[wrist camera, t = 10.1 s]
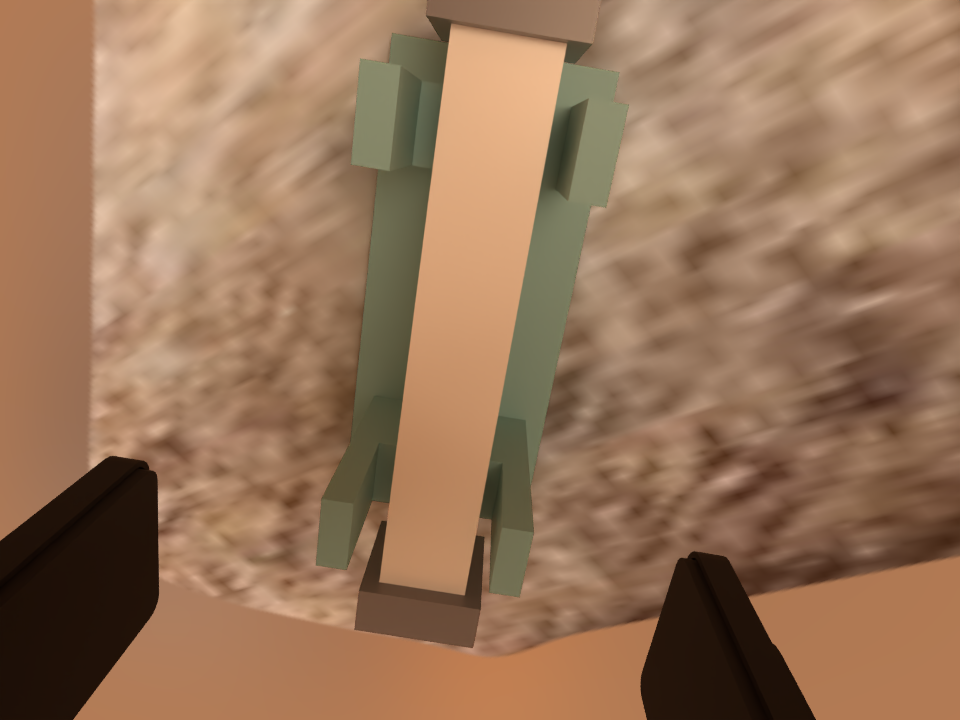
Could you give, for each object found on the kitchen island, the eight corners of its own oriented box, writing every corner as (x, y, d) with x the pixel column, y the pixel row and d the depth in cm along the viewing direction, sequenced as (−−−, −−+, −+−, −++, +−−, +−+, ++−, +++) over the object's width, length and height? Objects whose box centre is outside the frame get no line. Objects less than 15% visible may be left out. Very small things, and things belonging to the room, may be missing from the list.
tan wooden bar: (586, 3, 23) (607, -33, 18) (477, 570, 31) (473, 648, 26) (449, -21, 23) (435, -63, 18) (377, 555, 31) (354, 629, 26)
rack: (615, 74, 28) (680, 35, 18) (526, 495, 35) (535, 641, 25) (395, 36, 28) (331, -25, 18) (351, 467, 35) (287, 602, 25)
